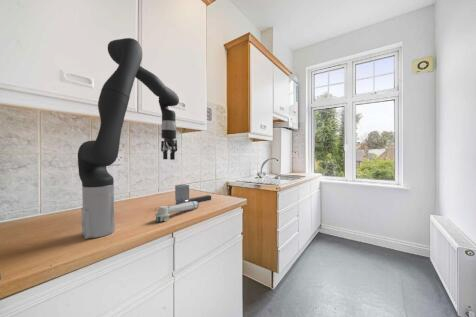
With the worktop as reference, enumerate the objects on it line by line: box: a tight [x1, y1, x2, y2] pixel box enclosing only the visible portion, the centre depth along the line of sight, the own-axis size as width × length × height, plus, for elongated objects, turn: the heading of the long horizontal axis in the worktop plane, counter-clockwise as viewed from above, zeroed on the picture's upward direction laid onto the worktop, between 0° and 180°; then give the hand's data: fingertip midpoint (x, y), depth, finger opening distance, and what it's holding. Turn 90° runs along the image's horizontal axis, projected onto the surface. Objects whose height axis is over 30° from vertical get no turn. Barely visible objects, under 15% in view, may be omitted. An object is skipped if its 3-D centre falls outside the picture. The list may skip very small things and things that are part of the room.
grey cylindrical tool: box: [154, 201, 200, 223], centre depth 94 cm, size 5×7×25 cm
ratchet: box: [175, 194, 212, 205], centre depth 116 cm, size 22×7×8 cm, turn 136°
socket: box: [174, 183, 190, 201], centre depth 110 cm, size 5×5×8 cm
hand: (168, 159), depth 109 cm, fingers open, 8 cm apart
